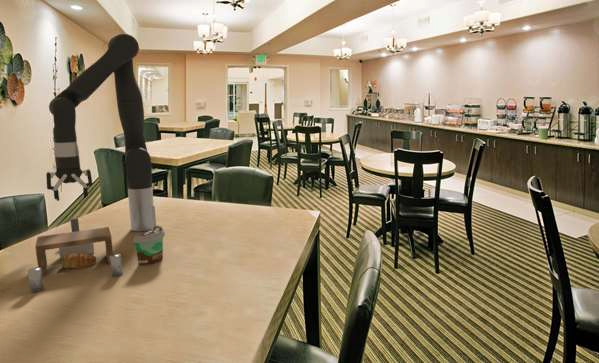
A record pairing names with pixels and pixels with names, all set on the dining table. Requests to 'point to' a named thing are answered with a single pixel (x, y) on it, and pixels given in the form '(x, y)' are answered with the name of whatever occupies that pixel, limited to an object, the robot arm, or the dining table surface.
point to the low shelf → (71, 243)
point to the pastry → (77, 260)
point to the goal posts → (37, 280)
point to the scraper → (77, 248)
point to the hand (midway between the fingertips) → (71, 199)
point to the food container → (150, 246)
